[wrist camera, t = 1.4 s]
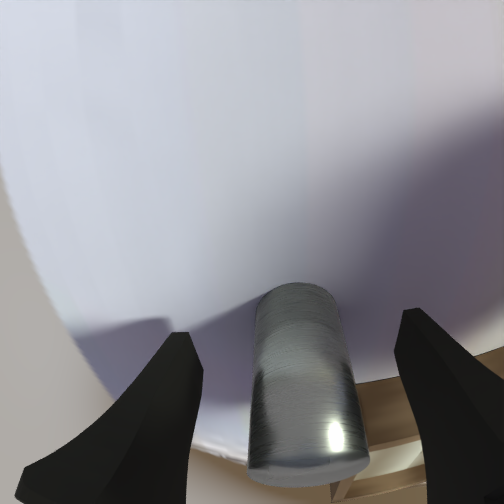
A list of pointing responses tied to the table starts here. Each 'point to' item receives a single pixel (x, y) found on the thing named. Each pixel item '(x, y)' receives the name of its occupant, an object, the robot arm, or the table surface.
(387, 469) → the peg box
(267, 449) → the peg
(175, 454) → the robot arm
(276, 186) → the table surface
